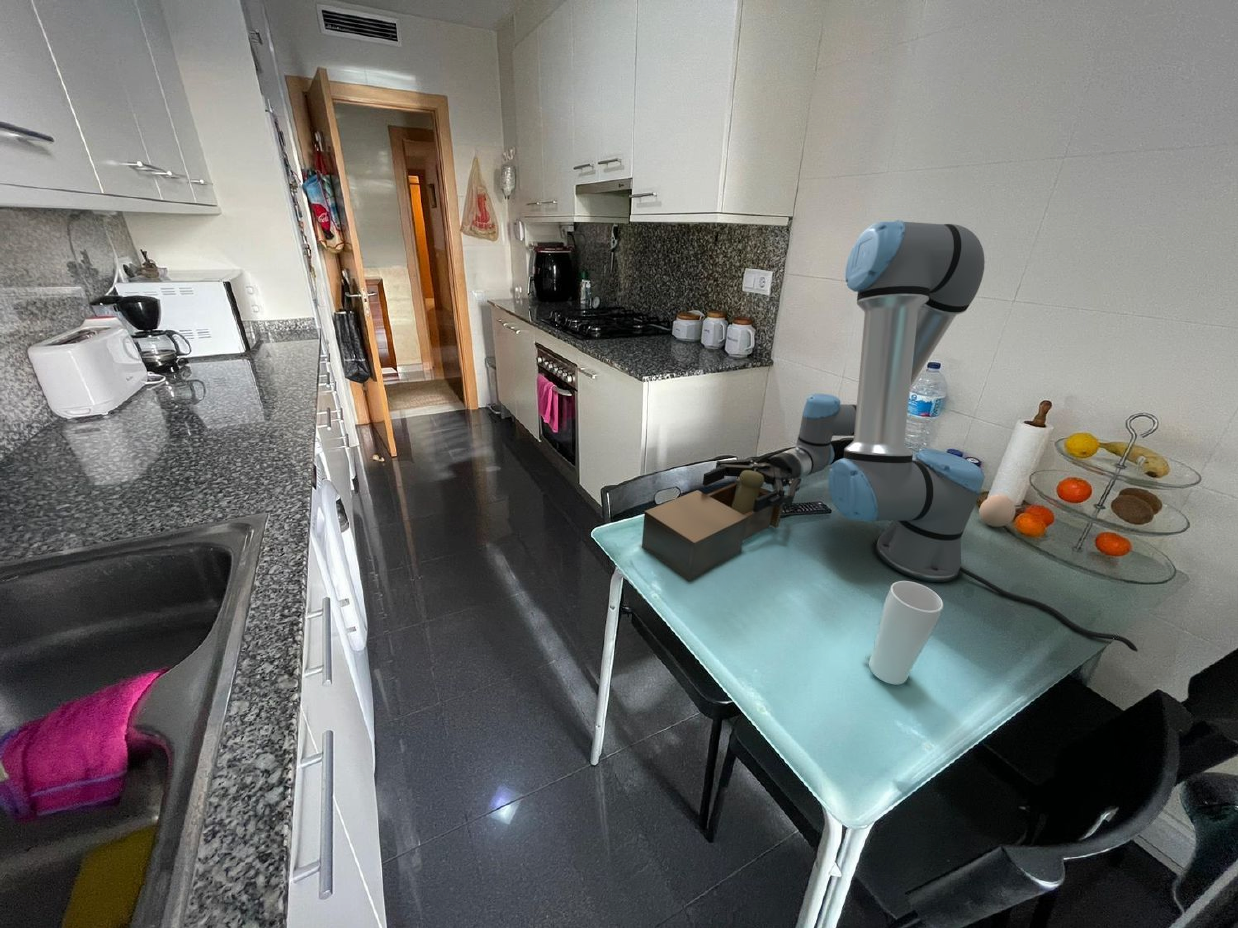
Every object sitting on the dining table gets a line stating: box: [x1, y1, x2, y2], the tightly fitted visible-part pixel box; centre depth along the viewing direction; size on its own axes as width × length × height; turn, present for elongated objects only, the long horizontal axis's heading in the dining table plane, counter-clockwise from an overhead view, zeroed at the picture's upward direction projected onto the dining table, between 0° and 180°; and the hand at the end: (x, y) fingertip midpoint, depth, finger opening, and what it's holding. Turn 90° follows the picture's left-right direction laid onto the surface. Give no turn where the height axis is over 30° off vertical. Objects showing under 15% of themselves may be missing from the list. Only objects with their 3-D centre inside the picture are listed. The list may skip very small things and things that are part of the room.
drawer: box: [706, 478, 784, 542], centre depth 111 cm, size 19×12×7 cm, turn 129°
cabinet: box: [641, 489, 748, 582], centre depth 101 cm, size 16×14×9 cm
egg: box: [978, 494, 1016, 528], centre depth 116 cm, size 7×7×8 cm
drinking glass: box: [868, 580, 944, 686], centre depth 73 cm, size 7×7×15 cm
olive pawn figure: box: [731, 470, 765, 515], centre depth 108 cm, size 6×6×11 cm
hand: (728, 492), depth 104 cm, fingers open, 13 cm apart
